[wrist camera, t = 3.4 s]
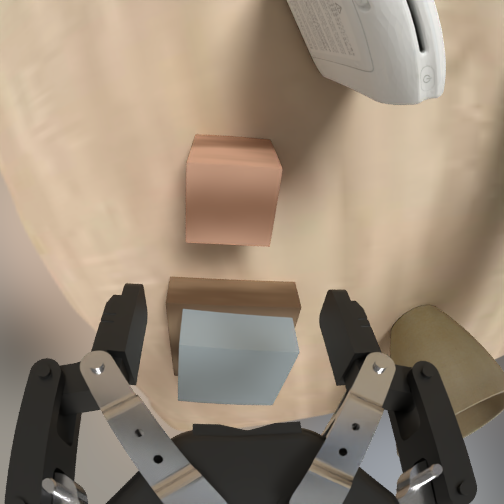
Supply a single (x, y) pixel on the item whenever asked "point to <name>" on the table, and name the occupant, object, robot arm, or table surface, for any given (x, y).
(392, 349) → the plant pot
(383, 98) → the photo printer
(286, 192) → the table surface
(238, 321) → the grey upper slab
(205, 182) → the terracotta block
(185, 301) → the walnut base slab
